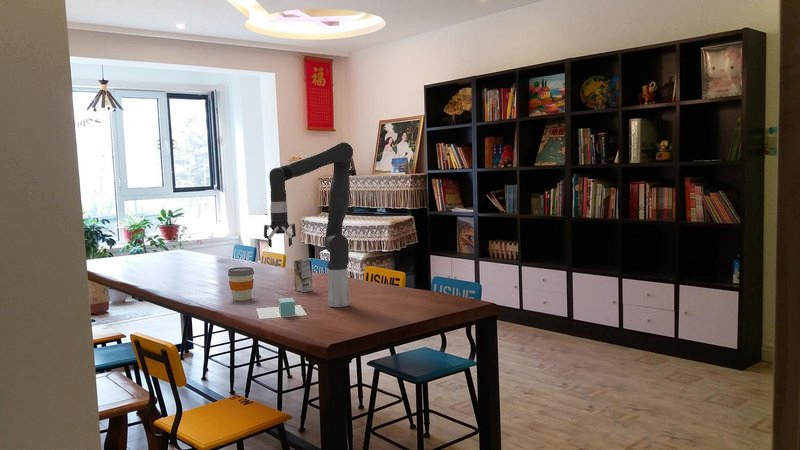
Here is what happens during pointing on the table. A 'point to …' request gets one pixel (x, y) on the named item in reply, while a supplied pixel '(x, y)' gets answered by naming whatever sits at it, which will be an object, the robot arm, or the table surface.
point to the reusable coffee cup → (241, 282)
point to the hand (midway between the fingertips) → (280, 246)
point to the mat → (277, 312)
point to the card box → (286, 307)
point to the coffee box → (303, 275)
